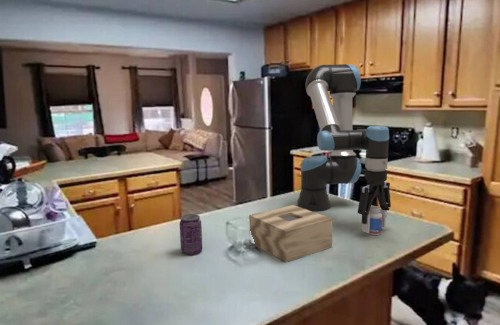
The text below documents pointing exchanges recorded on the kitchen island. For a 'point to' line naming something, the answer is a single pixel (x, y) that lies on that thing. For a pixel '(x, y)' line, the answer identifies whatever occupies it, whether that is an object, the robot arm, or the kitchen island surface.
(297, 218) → the thin gray tile
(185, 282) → the kitchen island surface
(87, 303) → the kitchen island surface
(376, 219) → the pill bottle
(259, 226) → the socket block
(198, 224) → the beverage can
